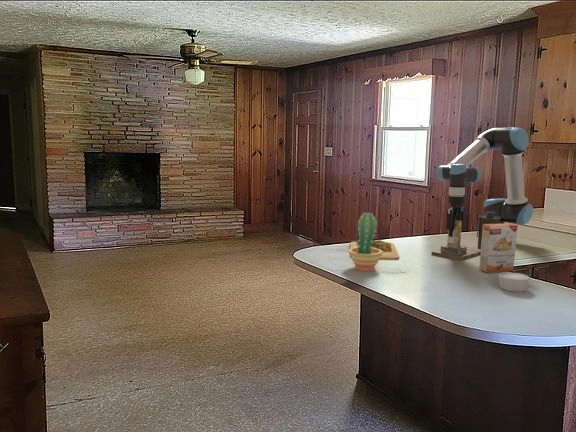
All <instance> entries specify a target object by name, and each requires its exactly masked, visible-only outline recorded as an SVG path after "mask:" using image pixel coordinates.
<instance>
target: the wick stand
mask: <svg viewBox="0 0 576 432" xmlns="http://www.w3.org/2000/svg"><path fill="white" fill-rule="evenodd" d="M480 254H481V249H477V248H475V247H470V246H466V245H464V246H463V245H460V247H459V248H452V247H447V244H444V245H441V246H440V249H436V250H433V251H431V256H437V257H442V258H447V259H452V260H457V261H464V260H467V259H470V258H473V257H477V256H480Z"/></svg>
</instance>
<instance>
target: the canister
mask: <svg viewBox="0 0 576 432" xmlns="http://www.w3.org/2000/svg"><path fill="white" fill-rule="evenodd" d="M494 213H495V212H486V216H484V215H478V216H477V228H476V237H477V238H478V240H477V248H476V249H481V241H482V229H483V224H500V219H501V218H500V217H497V216H494ZM495 214H496V213H495Z"/></svg>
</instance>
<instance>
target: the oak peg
mask: <svg viewBox="0 0 576 432" xmlns="http://www.w3.org/2000/svg"><path fill="white" fill-rule="evenodd" d="M461 225H462V221H459V220H455V226H454V230H455V236H454V244H453V243H448V241H449V230H447V244H446V245H447V247H452V248H459V247H460V246H461V242H462V241H461V239H462V229H461Z"/></svg>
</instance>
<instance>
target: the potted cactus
mask: <svg viewBox="0 0 576 432" xmlns="http://www.w3.org/2000/svg"><path fill="white" fill-rule="evenodd" d="M377 226H378V221H377V219H376V217H375V216H374V214H373V212H371V213H370V212H363V213H362V214H361V215H360V217H359V219H358V221H357V232H358V240H359V243H358V247H356V248H351V249H350V248H349V249H348V250H347V251H348V255H350V259H351V261H352V263H354V269H356V270H359V271H367V272H368V271H374V270H375V269H376V265H377V264H378V263H379V261H380V259H379V258H380V256H381V255H382V253H383V251H382V250H380V249H376V248H371V247H372V243H373V240H374V238H375V237H376V234H377V228H378V227H377Z"/></svg>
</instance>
